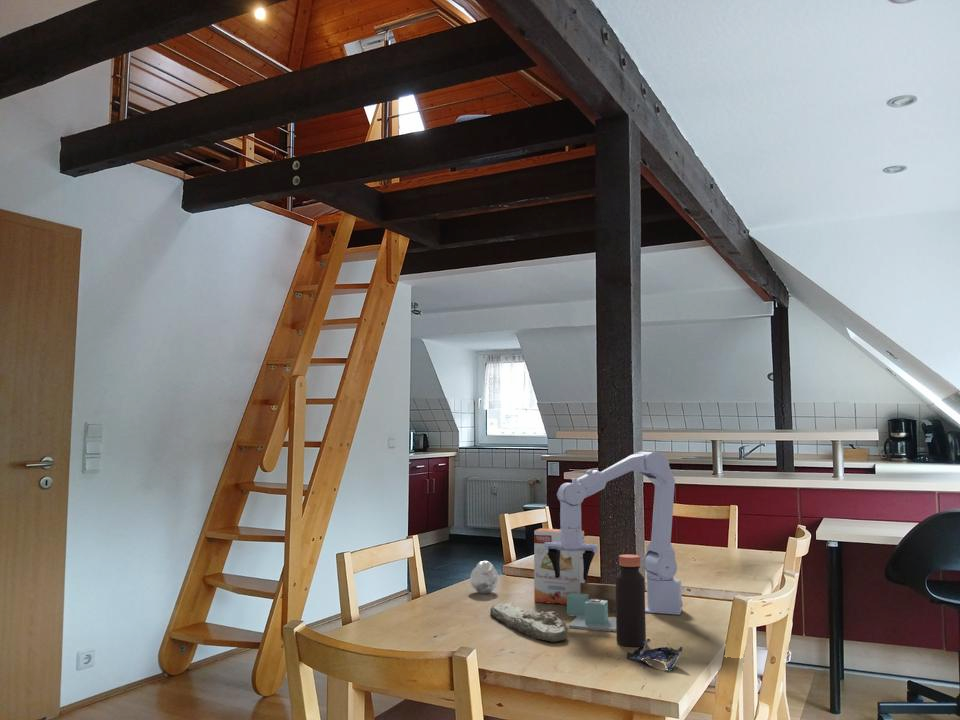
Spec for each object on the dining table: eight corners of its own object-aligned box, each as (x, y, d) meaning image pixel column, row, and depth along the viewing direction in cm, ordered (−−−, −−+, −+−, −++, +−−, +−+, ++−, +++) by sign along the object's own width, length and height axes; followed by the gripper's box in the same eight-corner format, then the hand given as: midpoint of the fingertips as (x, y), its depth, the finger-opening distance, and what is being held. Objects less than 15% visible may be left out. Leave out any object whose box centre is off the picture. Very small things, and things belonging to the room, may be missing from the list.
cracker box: (533, 602, 217) (533, 529, 219) (539, 598, 223) (539, 527, 225) (580, 606, 212) (579, 532, 214) (585, 602, 217) (584, 529, 220)
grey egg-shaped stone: (466, 595, 227) (466, 562, 228) (473, 589, 236) (473, 557, 237) (495, 597, 225) (495, 563, 226) (501, 591, 234) (501, 558, 235)
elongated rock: (513, 616, 207) (481, 621, 203) (512, 596, 208) (480, 602, 204) (580, 640, 176) (543, 647, 172) (578, 616, 176) (541, 623, 172)
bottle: (625, 637, 179) (623, 552, 181) (651, 642, 174) (649, 555, 176) (611, 643, 173) (609, 556, 176) (637, 648, 169) (635, 559, 171)
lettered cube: (608, 620, 193) (607, 599, 194) (604, 624, 189) (604, 603, 189) (589, 618, 195) (588, 597, 196) (585, 623, 190) (584, 601, 191)
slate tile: (623, 620, 195) (623, 618, 195) (616, 631, 184) (616, 629, 184) (578, 617, 199) (578, 614, 199) (568, 627, 188) (568, 625, 188)
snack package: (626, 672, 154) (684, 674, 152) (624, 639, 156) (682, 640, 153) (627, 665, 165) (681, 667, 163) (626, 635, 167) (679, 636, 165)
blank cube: (588, 612, 205) (588, 594, 205) (585, 616, 200) (584, 597, 201) (571, 611, 206) (570, 592, 207) (567, 615, 202) (566, 596, 202)
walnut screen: (628, 610, 207) (628, 584, 208) (626, 613, 203) (625, 587, 204) (582, 606, 211) (582, 581, 212) (579, 609, 208) (579, 584, 208)
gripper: (541, 527, 202) (541, 579, 201) (594, 530, 197) (595, 582, 196) (547, 525, 209) (548, 574, 207) (599, 527, 204) (600, 577, 202)
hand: (571, 578), depth 202 cm, fingers open, 7 cm apart
